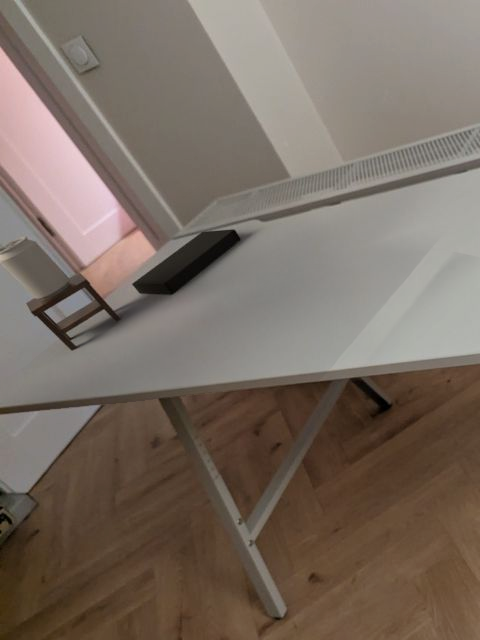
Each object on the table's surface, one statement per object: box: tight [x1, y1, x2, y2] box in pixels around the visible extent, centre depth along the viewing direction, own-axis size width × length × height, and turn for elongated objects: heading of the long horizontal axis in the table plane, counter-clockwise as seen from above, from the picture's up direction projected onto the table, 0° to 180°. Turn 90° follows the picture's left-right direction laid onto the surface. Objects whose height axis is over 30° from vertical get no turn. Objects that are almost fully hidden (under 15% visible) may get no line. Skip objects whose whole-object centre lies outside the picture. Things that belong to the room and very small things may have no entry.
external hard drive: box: [131, 228, 242, 296], centre depth 133 cm, size 14×23×3 cm, turn 153°
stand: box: [25, 272, 122, 351], centre depth 119 cm, size 12×9×11 cm
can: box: [0, 236, 70, 300], centre depth 113 cm, size 8×8×12 cm
